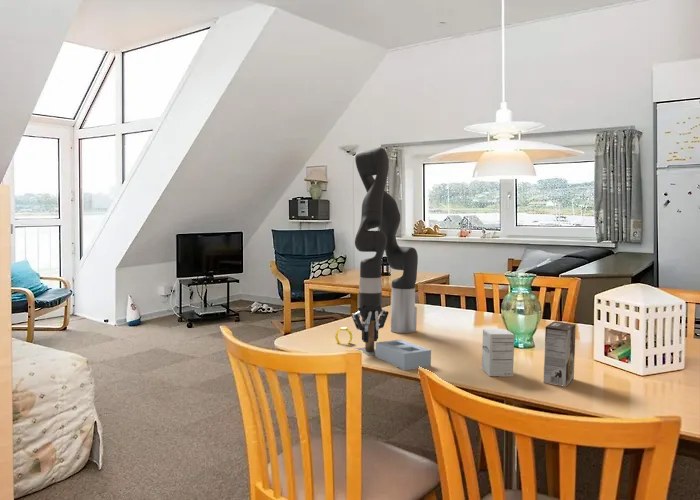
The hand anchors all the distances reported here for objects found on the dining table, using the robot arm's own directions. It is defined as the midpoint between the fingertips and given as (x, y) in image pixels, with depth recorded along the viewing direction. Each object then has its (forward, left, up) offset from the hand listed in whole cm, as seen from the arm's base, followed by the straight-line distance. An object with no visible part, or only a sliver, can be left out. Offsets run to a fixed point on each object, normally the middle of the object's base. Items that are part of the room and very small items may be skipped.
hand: (369, 341), depth 191 cm
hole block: (-3, +15, -4) cm, 16 cm away
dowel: (0, 0, -3) cm, 3 cm away
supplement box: (-21, +38, -4) cm, 43 cm away
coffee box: (-31, +52, -4) cm, 61 cm away
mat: (0, 0, -4) cm, 4 cm away
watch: (+2, -14, -4) cm, 15 cm away
